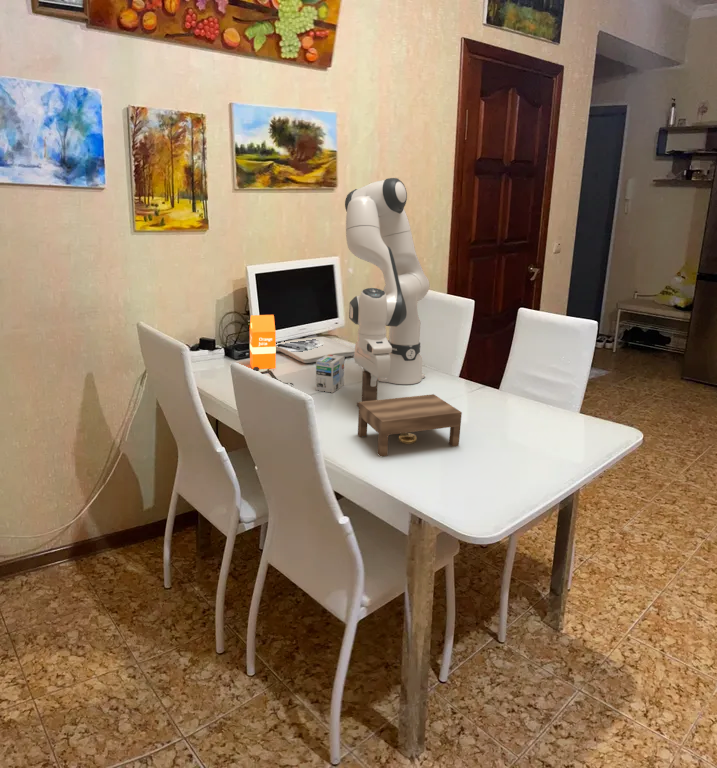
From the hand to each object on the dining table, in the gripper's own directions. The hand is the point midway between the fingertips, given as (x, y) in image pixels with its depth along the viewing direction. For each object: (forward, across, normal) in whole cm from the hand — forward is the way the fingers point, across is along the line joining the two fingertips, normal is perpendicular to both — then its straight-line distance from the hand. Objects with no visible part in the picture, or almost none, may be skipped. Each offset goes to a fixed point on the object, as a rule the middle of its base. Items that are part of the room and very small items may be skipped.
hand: (369, 383), depth 203 cm
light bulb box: (+8, -23, -5) cm, 25 cm away
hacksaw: (+9, -40, -21) cm, 46 cm away
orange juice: (+8, -55, -21) cm, 59 cm away
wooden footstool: (+8, +28, 0) cm, 29 cm away
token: (+8, +28, 0) cm, 29 cm away
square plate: (+9, -67, +4) cm, 68 cm away
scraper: (+8, +9, 0) cm, 12 cm away
